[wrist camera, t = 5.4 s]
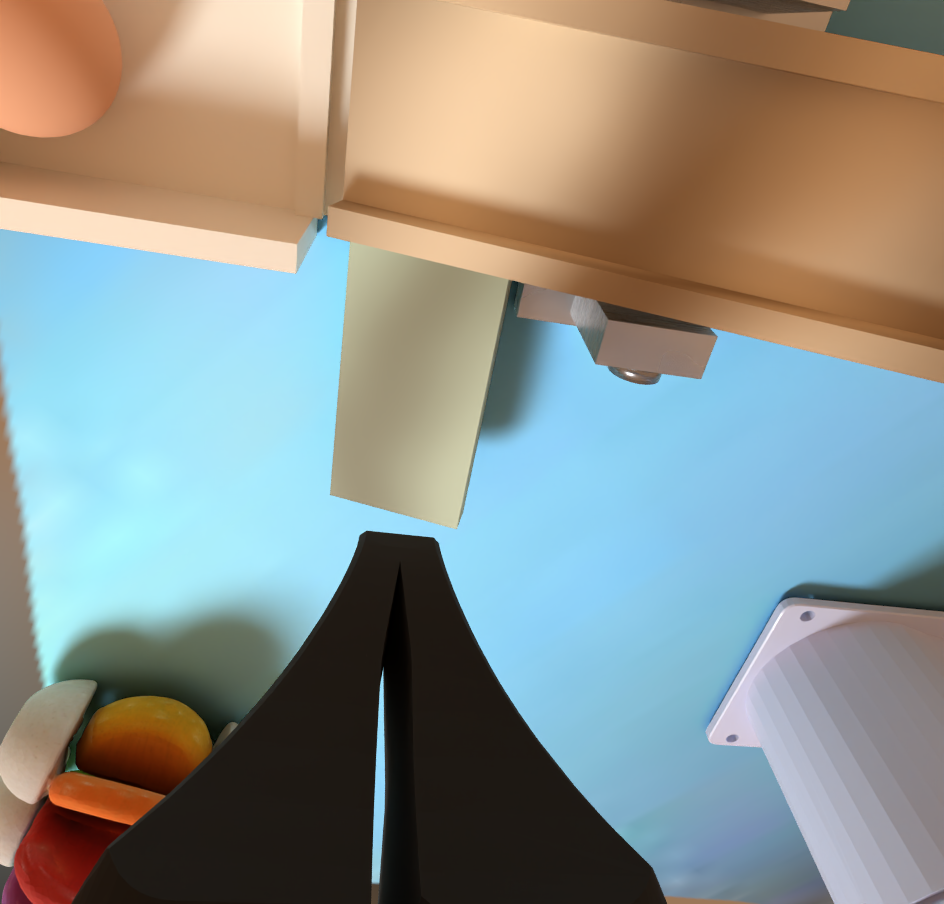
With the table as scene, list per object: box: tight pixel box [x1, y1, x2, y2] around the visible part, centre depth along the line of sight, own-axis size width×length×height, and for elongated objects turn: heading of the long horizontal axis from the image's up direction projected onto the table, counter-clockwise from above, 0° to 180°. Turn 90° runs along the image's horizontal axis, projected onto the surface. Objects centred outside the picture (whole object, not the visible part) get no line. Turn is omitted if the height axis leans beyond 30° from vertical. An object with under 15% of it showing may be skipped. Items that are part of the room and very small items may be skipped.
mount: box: [514, 0, 850, 385], centre depth 14 cm, size 5×9×4 cm, turn 170°
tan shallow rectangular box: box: [0, 0, 357, 274], centre depth 13 cm, size 9×6×3 cm
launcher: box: [327, 0, 944, 529], centre depth 15 cm, size 14×12×3 cm
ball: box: [0, 0, 122, 138], centre depth 12 cm, size 3×3×3 cm
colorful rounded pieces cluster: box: [0, 679, 238, 904], centre depth 23 cm, size 8×10×7 cm
